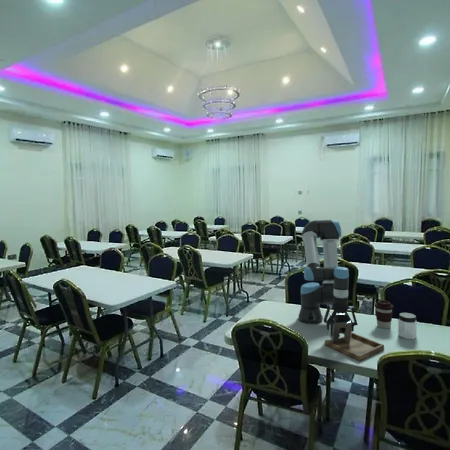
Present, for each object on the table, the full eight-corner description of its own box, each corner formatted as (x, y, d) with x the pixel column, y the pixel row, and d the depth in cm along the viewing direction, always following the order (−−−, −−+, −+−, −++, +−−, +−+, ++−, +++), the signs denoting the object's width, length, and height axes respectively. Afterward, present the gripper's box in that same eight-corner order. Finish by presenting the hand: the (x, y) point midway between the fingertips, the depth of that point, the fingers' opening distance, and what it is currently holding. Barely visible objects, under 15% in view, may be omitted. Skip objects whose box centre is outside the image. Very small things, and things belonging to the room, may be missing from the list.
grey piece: (332, 342, 171) (334, 322, 168) (328, 332, 180) (329, 313, 177) (349, 342, 171) (352, 322, 168) (344, 332, 180) (346, 313, 177)
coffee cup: (392, 331, 185) (392, 305, 184) (373, 328, 191) (373, 303, 189) (393, 325, 194) (394, 300, 192) (375, 322, 199) (375, 298, 198)
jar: (399, 338, 176) (400, 317, 175) (396, 332, 184) (397, 312, 182) (418, 340, 173) (418, 318, 172) (414, 333, 181) (414, 313, 180)
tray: (324, 345, 172) (324, 340, 171) (349, 335, 182) (349, 331, 182) (359, 361, 154) (359, 356, 154) (384, 349, 164) (384, 344, 164)
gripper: (319, 297, 171) (318, 337, 173) (364, 299, 166) (363, 341, 168) (318, 292, 178) (318, 331, 180) (361, 295, 173) (360, 335, 175)
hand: (339, 336), depth 174 cm, fingers closed on grey piece, 10 cm apart
